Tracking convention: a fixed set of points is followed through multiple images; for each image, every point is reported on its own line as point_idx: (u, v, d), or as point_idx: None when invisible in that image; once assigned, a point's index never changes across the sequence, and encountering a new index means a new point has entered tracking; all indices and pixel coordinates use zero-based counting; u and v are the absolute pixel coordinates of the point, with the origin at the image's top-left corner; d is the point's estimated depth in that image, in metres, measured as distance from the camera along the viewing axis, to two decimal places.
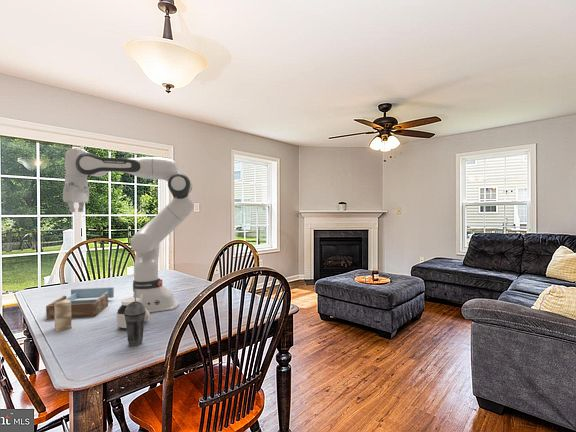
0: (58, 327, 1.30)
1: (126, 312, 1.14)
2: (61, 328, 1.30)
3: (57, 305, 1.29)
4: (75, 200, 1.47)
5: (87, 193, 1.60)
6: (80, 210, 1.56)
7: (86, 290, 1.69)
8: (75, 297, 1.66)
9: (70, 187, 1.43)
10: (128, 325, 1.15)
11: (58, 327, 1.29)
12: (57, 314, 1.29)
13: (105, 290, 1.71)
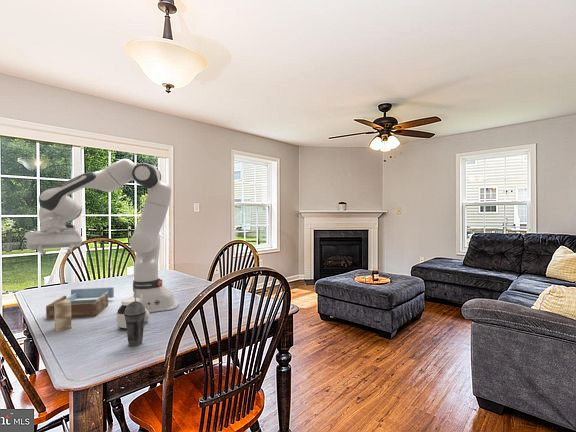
0: (58, 327, 1.30)
1: (126, 312, 1.14)
2: (61, 328, 1.30)
3: (57, 305, 1.29)
4: (39, 242, 1.38)
5: (75, 234, 1.50)
6: (67, 251, 1.44)
7: (86, 290, 1.69)
8: (75, 297, 1.66)
9: None
10: (128, 325, 1.15)
11: (58, 327, 1.29)
12: (57, 314, 1.29)
13: (105, 290, 1.71)
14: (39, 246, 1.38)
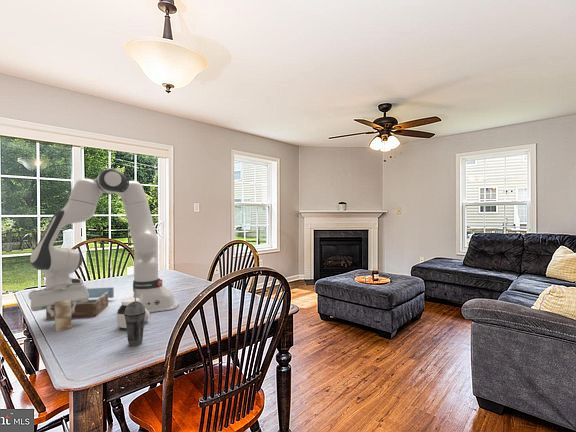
0: (58, 327, 1.30)
1: (126, 312, 1.14)
2: (61, 328, 1.30)
3: (57, 305, 1.29)
4: (44, 303, 1.30)
5: (82, 289, 1.41)
6: None
7: None
8: None
9: (32, 294, 1.31)
10: (128, 325, 1.15)
11: (58, 327, 1.29)
12: (57, 314, 1.29)
13: (105, 290, 1.71)
14: (49, 307, 1.30)
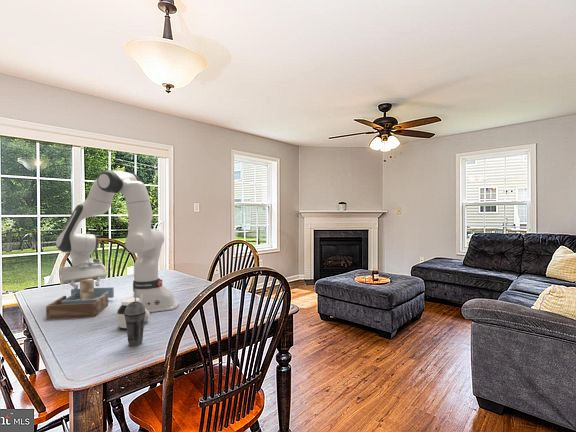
0: None
1: (126, 312, 1.14)
2: None
3: (83, 282, 1.59)
4: (72, 278, 1.59)
5: (101, 268, 1.71)
6: (95, 284, 1.65)
7: None
8: (75, 297, 1.66)
9: None
10: (128, 325, 1.15)
11: None
12: (83, 289, 1.59)
13: (105, 290, 1.71)
14: (72, 281, 1.59)
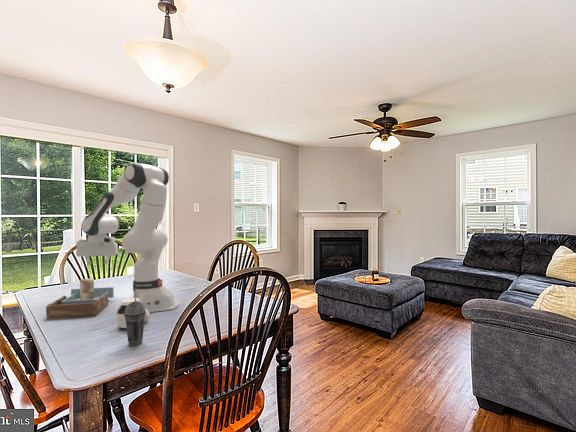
0: None
1: (126, 312, 1.14)
2: None
3: (83, 282, 1.59)
4: (84, 255, 1.74)
5: (111, 247, 1.77)
6: None
7: None
8: (75, 297, 1.66)
9: (78, 244, 1.74)
10: (128, 325, 1.15)
11: None
12: (83, 289, 1.59)
13: (105, 290, 1.71)
14: (85, 257, 1.75)
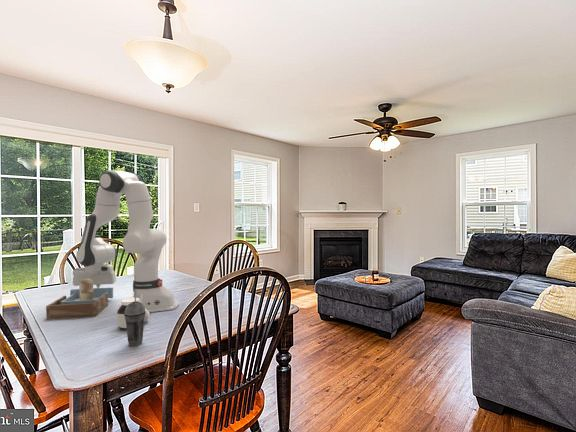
0: None
1: (126, 312, 1.14)
2: None
3: (82, 282, 1.58)
4: None
5: (109, 275, 1.72)
6: None
7: None
8: (74, 297, 1.65)
9: (74, 273, 1.69)
10: (128, 325, 1.15)
11: None
12: (82, 289, 1.58)
13: (104, 290, 1.70)
14: None
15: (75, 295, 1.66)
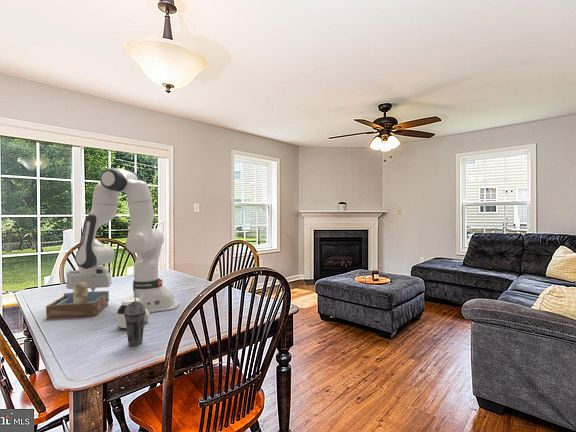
0: None
1: (126, 312, 1.14)
2: None
3: (76, 286, 1.51)
4: None
5: (104, 278, 1.65)
6: None
7: None
8: (68, 301, 1.58)
9: (68, 276, 1.62)
10: (128, 325, 1.15)
11: None
12: (76, 293, 1.51)
13: (100, 294, 1.63)
14: None
15: (69, 299, 1.59)
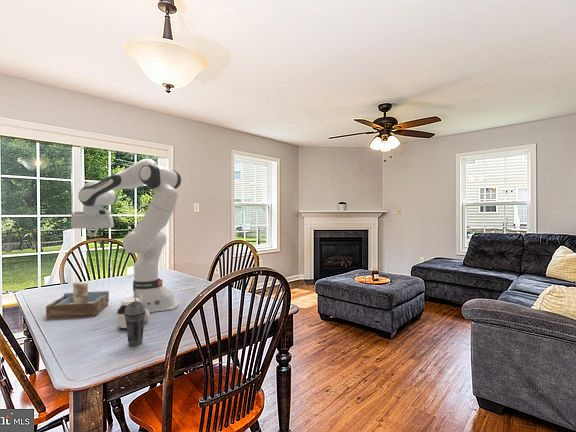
0: None
1: (126, 312, 1.14)
2: None
3: (76, 286, 1.51)
4: (79, 227, 1.73)
5: (107, 219, 1.75)
6: None
7: None
8: (68, 301, 1.58)
9: None
10: (128, 325, 1.15)
11: None
12: (76, 293, 1.51)
13: (100, 294, 1.63)
14: (88, 229, 1.74)
15: (69, 299, 1.59)
